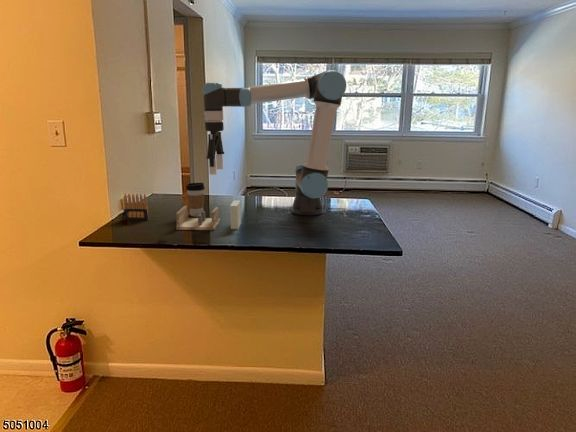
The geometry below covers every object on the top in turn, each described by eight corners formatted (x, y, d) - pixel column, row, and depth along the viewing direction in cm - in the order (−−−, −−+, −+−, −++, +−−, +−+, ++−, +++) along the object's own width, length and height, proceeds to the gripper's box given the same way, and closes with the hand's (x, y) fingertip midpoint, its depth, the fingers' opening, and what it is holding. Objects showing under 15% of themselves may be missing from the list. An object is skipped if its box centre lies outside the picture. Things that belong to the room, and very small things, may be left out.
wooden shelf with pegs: (220, 220, 197) (219, 205, 195) (214, 230, 184) (213, 213, 182) (184, 220, 198) (184, 205, 196) (176, 229, 184) (175, 213, 182)
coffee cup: (201, 217, 202) (200, 185, 198) (184, 216, 204) (182, 184, 200) (208, 213, 210) (207, 182, 206) (191, 212, 212) (190, 181, 208)
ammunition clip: (149, 219, 200) (147, 193, 197) (148, 220, 198) (146, 194, 195) (126, 218, 200) (123, 192, 197) (124, 219, 198) (122, 193, 195)
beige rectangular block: (241, 222, 195) (240, 200, 192) (237, 229, 185) (237, 205, 183) (234, 222, 195) (233, 200, 192) (230, 229, 185) (230, 205, 183)
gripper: (212, 119, 197) (214, 167, 202) (197, 123, 173) (200, 176, 178) (228, 119, 196) (230, 167, 202) (216, 123, 172) (219, 176, 178)
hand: (216, 171), depth 190 cm, fingers open, 13 cm apart
